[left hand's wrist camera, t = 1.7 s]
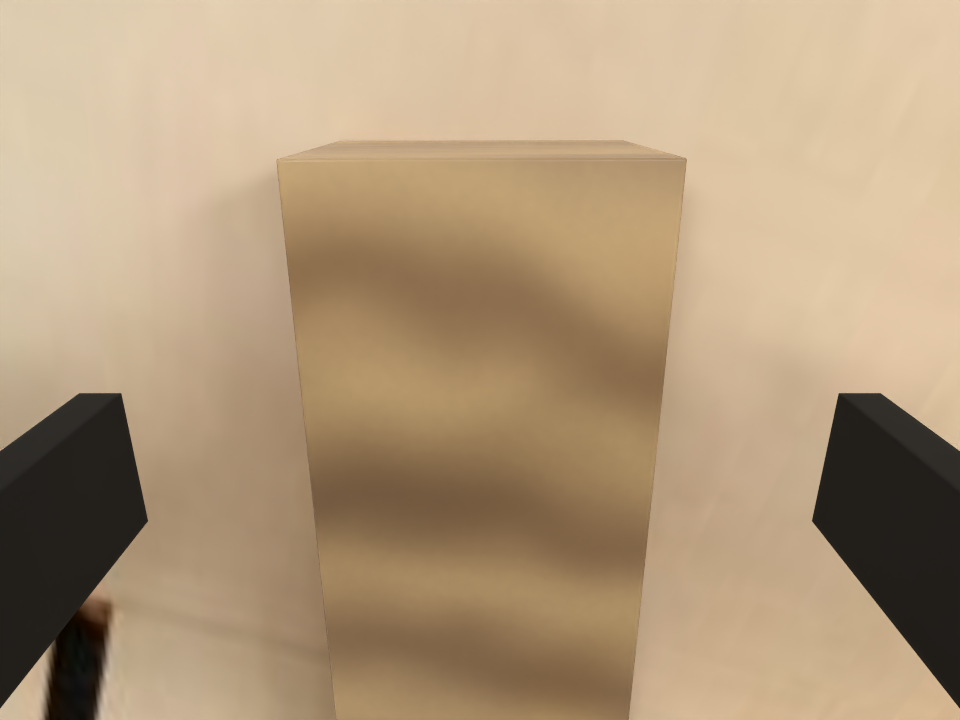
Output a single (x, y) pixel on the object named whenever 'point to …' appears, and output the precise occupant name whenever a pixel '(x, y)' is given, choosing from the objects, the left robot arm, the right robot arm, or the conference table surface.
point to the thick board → (481, 415)
